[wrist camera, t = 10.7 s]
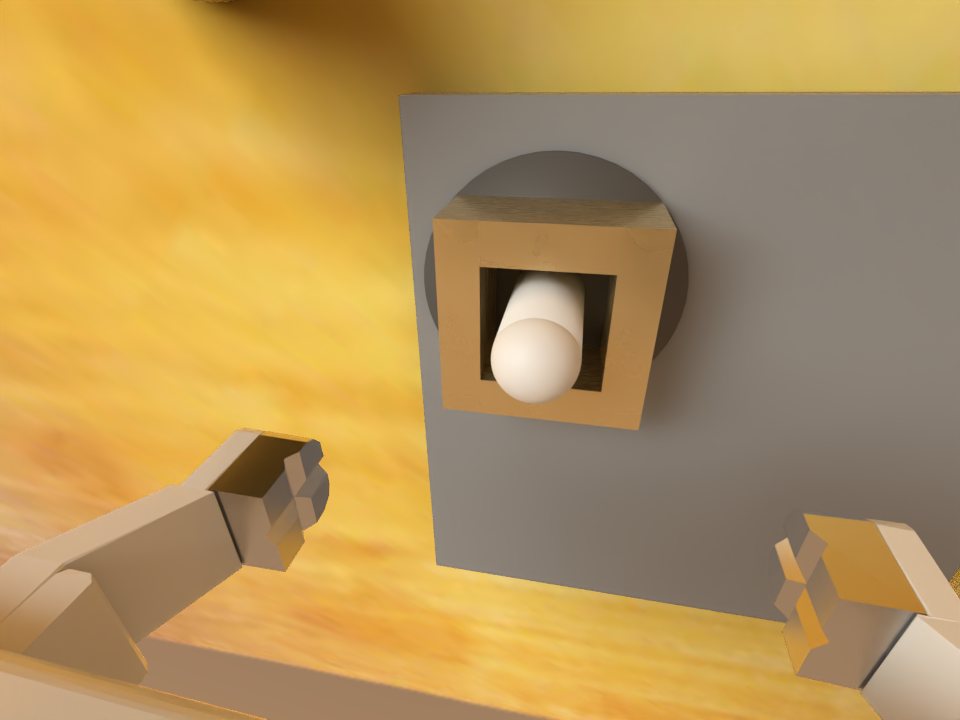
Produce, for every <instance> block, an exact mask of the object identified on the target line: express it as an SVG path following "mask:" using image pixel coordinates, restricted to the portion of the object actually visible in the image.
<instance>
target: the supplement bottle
mask: <svg viewBox="0 0 960 720" xmlns="http://www.w3.org/2000/svg"><path fill="white" fill-rule="evenodd" d="M197 1H203V2H230V1H235V0H197Z"/></svg>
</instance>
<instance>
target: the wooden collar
mask: <svg viewBox="0 0 960 720" xmlns="http://www.w3.org/2000/svg"><path fill="white" fill-rule="evenodd" d="M676 232H677V229H676V227H675V225H674V223H673V221H672V219H671V217H670V215H669V213H668V211H667V209H666V207H665V204H664V202H644V201H616V200H589V199H562V198H534V197H507V196H479V195H457V196H456V197H455V198H454V199H453V200H452V201H451V202H450V203H449V204H448V205H446V206H445V207H444V208H443V209H442V210H441V211H440V212H439V213H438V214H437V215H436V216H435V217H434V218H433V236H434V254H435V272H436V290H437V309H438V327H439V345H440V363H441V381H442V400H443V409H452V410H461V411H470V412H479V413H488V414H497V415H506V416H514V417H523V418H532V419H541V420H550V421H559V422H568V423H577V424H586V425H595V426H604V427H613V428H622V429H631V430H639V425H640V420H641V415H642V409H643V404H644V399H645V394H646V389H647V383H648V378H649V373H650V368H651V363H652V357H653V352H654V347H655V342H656V337H657V331H658V326H659V321H660V316H661V310H662V305H663V300H664V295H665V290H666V284H667V279H668V274H669V269H670V264H671V258H672V253H673V248H674V243H675V238H676ZM497 268H506V269H523V270H539V271H555V272H572V273H588V274H604V275H610V276H609V284H608V291H607V299H606V307H605V315H604V322H603V330H602V338H601V345H600V346H594V345H583V344H582V363H581V368H580V372H579V375H578V378H577V380H576V381H575V383H574V385H573V386H572V387H571V388H570V389H569V390H568V391H567V393H565V394H564V395H563V396H561V397H559V398H558V399H556V400H554V401H551V402H548V403H542V404H530V403H525V402H521V401H519V400H517V399H515V398H513V397H511V396H510V395H508V394H507V393H506V392H505V391H504V390H503V389H502V388H501V387H500V385H499V384H498V382H497V381H496V379H495V377H494V374H493V371H492V367H491V351H492V347H493V344H494V341H495V338H496V281H497Z"/></svg>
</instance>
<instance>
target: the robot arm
mask: <svg viewBox="0 0 960 720" xmlns="http://www.w3.org/2000/svg"><path fill="white" fill-rule="evenodd" d="M322 457H323V452H322V449H321V445H320V442H318V441H316V440H314V439H310V438H304V437H298V436H293V435H287V434H281V433H275V432H269V431H267V432H266V431H260V430H254V429H249V428H243V429H240V430H237V431H235V432H234V433H233V434H232V435H231V436H230V437H229V438H228V439H227V440H226V441H225V442H224V443H223V444H222V445H221V446H220V447H219V448H218V449H217V450H216V451H215V452H214V453H213V454H212V455H211V456H210V457H209V458H208V459H207V460H206V461H205V462H204V463H203V464H202V465H201V466H200V467H198V468H197V469H196V470H195V471H194V472H193V473H192V474H191V475H190V476H189V477H188V478H187V479H186V480H185V481H184V482H183V483H182V484H181V485H180V486H179V485H170V486H168V487H166V488H163V489H161V490H159V491H157V492H154V493H152V494H150V495H148V496H145V497H143V498H141V499H139V500H136V501H134V502H132V503H130V504H127V505H125V506H123V507H121V508H118V509H116V510H114V511H111V512H109V513H107V514H105V515H102V516H100V517H98V518H96V519H93V520H91V521H89V522H87V523H84V524H82V525H80V526H78V527H75V528H73V529H71V530H69V531H66V532H64V533H62V534H60V535H57V536H55V537H53V538H51V539H48V540H46V541H44V542H42V543H39V544H37V545H35V546H32V547H30V548H28V549H26V550H23V551H21V552H19V553H17V554H15V555H14V556H13V557H11V558H10V559H9V560H8V561H7V562H5V563H4V564H3V565H2V566H1V567H0V720H268V719H264V718H260V717H256V716H253V715H249V714H245V713H241V712H238V711H234V710H230V709H226V708H223V707H219V706H215V705H211V704H208V703H204V702H200V701H196V700H192V699H189V698H185V697H181V696H178V695H174V694H170V693H166V692H163V691H159V690H155V689H151V688H147V687H144V686H140V685H139V684H140V683H141V681H142V680H143V679H144V677H145V676H146V674H147V673H148V663H147V661H146V660H145V658H144V657H143V655H142V653H141V652H140V650H139V649H138V647H137V645H136V643H137V642H138V641H140V640H141V639H143V638H144V637H146V636H147V635H148V634H150V633H151V632H153V631H154V630H155V629H157V628H158V627H160V626H161V625H162V624H164V623H165V622H167V621H168V620H169V619H171V618H172V617H174V616H175V615H176V614H178V613H179V612H181V611H182V610H183V609H185V608H186V607H188V606H189V605H190V604H192V603H193V602H195V601H196V600H197V599H199V598H200V597H201V596H203V595H204V594H206V593H207V592H208V591H210V590H211V589H213V588H214V587H215V586H217V585H218V584H220V583H221V582H222V581H224V580H225V579H227V578H228V577H229V576H231V575H232V574H234V573H235V572H236V571H238V570H239V569H241V568H242V565H248V566H254V567H259V568H265V569H271V570H277V571H283V572H286V570H287V569H288V567H289V565H290V564H291V562H292V561H293V559H294V558H295V556H296V555H297V553H298V551H299V550H300V548H301V547H302V545H303V544H304V542H305V540H304V533H303V530H305V529H307V528H309V527H310V526H312V525H314V524H315V523H317V521H318V520H319V518H320V516H321V515H322V513H323V511H324V509H325V506H326V503H327V500H328V496H329V479H328V474H327V473H326V472H325V471H324V469H323V468H322V467H321V466H320V465H319V464H318V463H319V461H320V460H321V459H322ZM783 527H784V530H785V533H786V535H787V538H786V539H784V540H782V541H781V542H779V543H777V544H775V545H774V548H773V551H772V553H771V556H770V559H769V569H768V580H769V587H770V592H771V596H772V599H773V603H774V605H775V606H776V607H777V608H778V609H779V610H780V611H781V612H782V613H783V614H784V615H785V616H786V617H787V618H788V621H787V623H786V625H785V627H784V629H783V631H782V632H783V636H784V639H785V642H786V645H787V648H788V652H789V655H790V658H791V661H792V664H793V668H794V671H795V674H796V676H801V677H805V678H809V679H814V680H818V681H822V682H827V683H831V684H836V685H840V686H844V687H849V688H853V689H857V690H862V691H861V693H860V694H861V695H862V696H863V697H864V698H865V699H866V701H867V702H868V703H869V704H870V705H871V707H872V708H873V709H874V710H875V711H876V713H877V714H878V715H879V716H880V717H881V719H882V720H960V599H959V597H958V596H957V594H956V593H955V591H954V590H953V588H952V587H951V585H950V584H949V582H948V581H947V579H946V577H945V576H944V574H943V573H942V571H941V570H940V568H939V567H938V565H937V564H936V562H935V561H934V559H933V558H932V556H931V555H930V553H929V552H928V550H927V549H926V547H925V546H924V544H923V543H922V541H921V540H920V538H919V537H918V535H917V534H916V532H915V531H914V530H913V529H912V528H911V527H909V526H908V525H907V524H904V523H897V522H889V521H882V520H874V519H863V518H857V517H850V516H843V515H835V514H828V513H821V512H814V511H806V510H799V509H794V510H792V511H791V512H790V513H789V514H788V516H787V518H786V520H785V522H784V524H783Z"/></svg>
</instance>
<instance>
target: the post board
mask: <svg viewBox="0 0 960 720" xmlns="http://www.w3.org/2000/svg"><path fill="white" fill-rule="evenodd" d="M399 107H400V119H401V132H402V144H403V156H404V169H405V181H406V193H407V206H408V218H409V230H410V243H411V255H412V267H413V280H414V292H415V305H416V317H417V329H418V342H419V354H420V366H421V379H422V391H423V403H424V416H425V428H426V440H427V453H428V465H429V477H430V490H431V502H432V514H433V527H434V539H435V551H436V564H437V565H440V566H446V567H452V568H458V569H464V570H470V571H476V572H482V573H488V574H494V575H500V576H506V577H512V578H518V579H524V580H530V581H536V582H542V583H548V584H554V585H561V586H567V587H573V588H579V589H585V590H591V591H597V592H603V593H609V594H615V595H621V596H627V597H633V598H639V599H645V600H651V601H657V602H663V603H669V604H675V605H681V606H687V607H693V608H699V609H705V610H711V611H718V612H724V613H730V614H736V615H742V616H748V617H754V618H760V619H766V620H772V621H778V622H784V623H787V621H788V618H787V617H786V616H785V615H784V614H783V613H782V612H781V611H780V610H779V609H778V608H777V607H776V606H775V605H774V603H773V599H772V596H771V592H770V587H769V580H768V569H769V559H770V556H771V553H772V551H773V548H774V545H775V544H777V543H779V542H781V541H782V540H784V539H786V538H787V535H786V533H785V530H784V527H783V524H784V522H785V520H786V518H787V516H788V514H789V513H790V512H791V511H792V510H794V509H799V510H806V511H814V512H821V513H828V514H835V515H843V516H850V517H857V518H863V519H874V520H882V521H889V522H897V523H904V524H907V525H908V526H909V527H911V528H912V529H913V530H914V531H915V532H916V534H917V535H918V537H919V538H920V540H921V541H922V543H923V544H924V546H925V547H926V549H927V550H928V552H929V553H930V555H931V556H932V558H933V559H934V561H935V562H936V564H937V565H938V567H939V568H940V570H941V571H942V573H943V574H944V576H945V577H946V579H947V581H948V582H949V581H950V580H951V579H952V577H953V576H954V575H955V573H956V572H957V570H958V569H959V568H960V92H643V93H409V94H403V95H399ZM457 195H479V196H507V197H534V198H562V199H589V200H616V201H644V202H664V204H665V207H666V209H667V211H668V213H669V215H670V217H671V219H672V221H673V223H674V225H675V227H676V229H677V232H676V238H675V243H674V248H673V253H672V258H671V264H670V269H669V274H668V279H667V284H666V290H665V295H664V300H663V305H662V310H661V316H660V321H659V326H658V331H657V337H656V342H655V347H654V352H653V357H652V363H651V368H650V373H649V378H648V383H647V389H646V394H645V399H644V404H643V409H642V415H641V420H640V425H639V430H631V429H622V428H613V427H604V426H595V425H586V424H577V423H568V422H559V421H550V420H541V419H532V418H523V417H514V416H506V415H497V414H488V413H479V412H470V411H461V410H452V409H443V400H442V381H441V363H440V345H439V327H438V309H437V290H436V272H435V254H434V236H433V218H434V217H435V216H436V215H437V214H438V213H439V212H440V211H441V210H442V209H443V208H444V207H445V206H446V205H448V204H449V203H450V202H451V201H452V200H453V199H454V198H455V197H456V196H457ZM609 276H610V275H604V274H588V273H572V272H555V271H539V270H523V269H506V268H497V281H496V338H495V341H494V344H493V347H492V351H491V367H492V371H493V374H494V377H495V379H496V381H497V382H498V384H499V385H500V387H501V388H502V389H503V390H504V391H505V392H506V393H507V394H508V395H510V396H511V397H513V398H515V399H517V400H519V401H521V402H525V403H530V404H542V403H548V402H551V401H554V400H556V399H558V398H559V397H561V396H563V395H564V394H565V393H567V391H568V390H569V389H570V388H571V387H572V386H573V385H574V383H575V381H576V380H577V378H578V375H579V372H580V368H581V363H582V344H583V345H594V346H600V345H601V338H602V330H603V322H604V315H605V307H606V299H607V291H608V284H609Z"/></svg>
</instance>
